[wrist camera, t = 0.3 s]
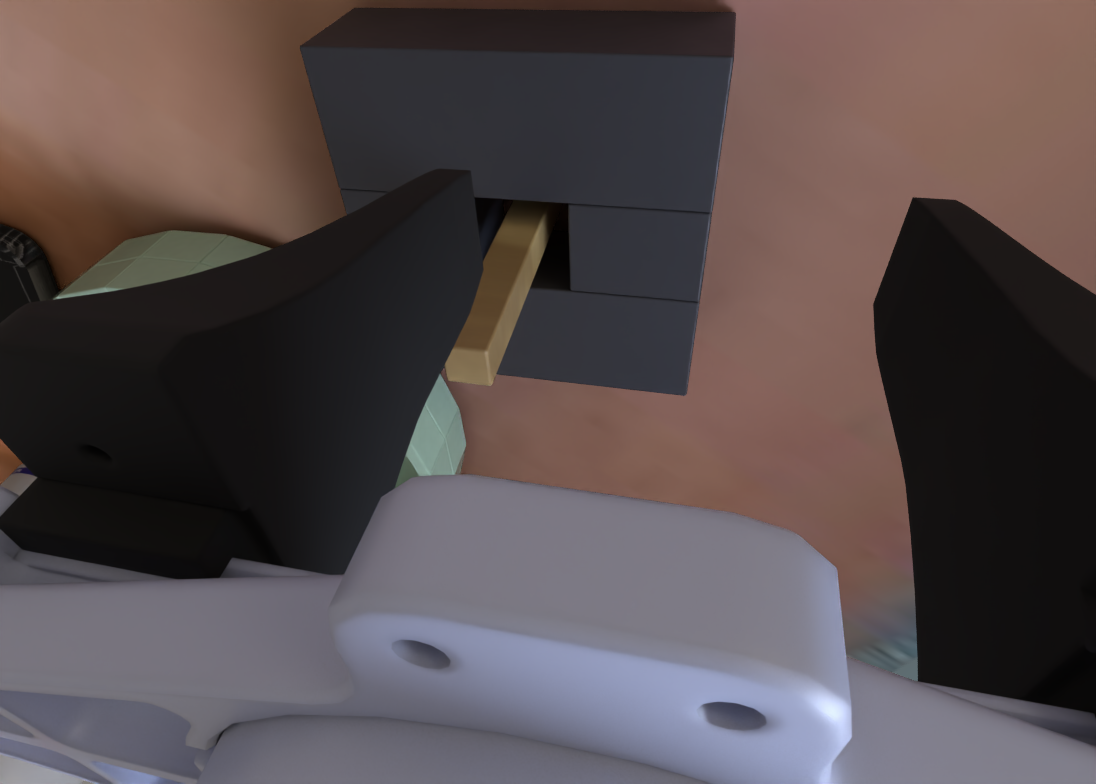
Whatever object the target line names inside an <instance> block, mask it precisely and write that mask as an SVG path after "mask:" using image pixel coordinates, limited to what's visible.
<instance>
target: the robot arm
mask: <svg viewBox="0 0 1096 784" xmlns="http://www.w3.org/2000/svg"><path fill="white" fill-rule="evenodd" d="M483 270H484V269H483V261H482V253H481V246H480V238H479V230H478V222H477V215H476V207H475V199H474V191H473V183H472V176H471V170H456V169H439V168H438V169H435V170H432V171H430V172H427V173H425V174H423V175H421V176H419V177H417V178H415V179H413V180H411V181H409V182H407V183H405V184H404V185H402V186H400V187H398V188H396V189H394V190H393V191H391V192H389V193H387V194H385V195H383V196H382V197H380V198H378V199H376V200H374V201H373V202H371V203H369V204H367V205H365V206H363V207H362V208H360V209H358V210H356V211H354V212H352V213H350V214H348V215H346V216H344V217H342V218H340V219H338V220H336V221H334V222H332V223H330V224H328V225H326V226H324V227H322V228H320V229H318V230H316V231H314V232H312V233H310V234H307V235H305V236H303V237H301V238H298V239H296V240H293V241H291V242H289V243H286V244H284V245H281V246H278V247H276V248H273V249H271V250H268V251H265V252H263V253H260V254H257V255H254V256H251V257H249V258H245V259H242V260H239V261H235V262H232V263H229V264H225V265H222V266H218V267H215V268H212V269H208V270H205V271H202V272H198V273H195V274H191V275H187V276H183V277H178V278H174V279H170V280H166V281H161V282H157V283H152V284H147V285H142V286H137V287H132V288H127V289H121V290H115V291H110V292H103V293H96V294H89V295H82V296H75V297H68V298H61V299H54V300H46V301H37V302H30V303H27V304H25V305H23V306H22V307H20V308H19V309H17V310H16V311H15V312H13V313H12V314H11V315H10V316H8V317H7V318H6V319H5V320H3V321H2V322H1V323H0V439H1V440H2V441H3V442H4V443H5V444H6V445H7V446H8V448H9V449H10V450H11V451H12V452H13V453H14V454H15V455H16V456H17V457H18V458H19V459H20V461H21V462H22V463H23V464H24V465H25V466H26V467H27V468H28V469H29V470H30V471H31V472H32V474H33V475H34V476H35V477H37V478H36V479H35V480H34V481H33V483H32V484H31V485H30V486H29V487H28V488H27V489H26V490H25V491H24V492H23V493H22V494H21V495H20V496H19V495H18V494H16V493H14V492H12V491H10V490H8V489H7V488H5V487H2V486H0V754H1V755H4V756H7V757H11V758H14V759H18V760H21V761H24V762H27V763H31V764H34V765H37V766H40V767H43V768H47V769H50V770H53V771H56V772H60V773H63V774H66V775H69V776H73V777H76V778H79V779H82V780H85V781H88V782H91V783H95V784H1096V295H1095V294H1094V293H1092V292H1090V291H1089V290H1087V289H1086V288H1084V287H1082V286H1081V285H1079V284H1078V283H1076V282H1074V281H1073V280H1071V279H1070V278H1068V277H1067V276H1065V275H1064V274H1062V273H1061V272H1059V271H1058V270H1056V269H1055V268H1054V267H1052V266H1051V265H1049V264H1048V263H1046V262H1045V261H1043V260H1042V259H1041V258H1039V257H1038V256H1036V255H1035V254H1034V253H1032V252H1031V251H1029V250H1028V249H1027V248H1025V247H1024V246H1023V245H1021V244H1020V243H1018V242H1017V241H1016V240H1014V239H1013V238H1012V237H1010V236H1009V235H1007V234H1006V233H1005V232H1003V231H1002V230H1001V229H999V228H998V227H997V226H995V225H994V224H992V223H991V222H990V221H988V220H987V219H985V218H984V217H983V216H981V215H980V214H978V213H977V212H975V211H974V210H972V209H971V208H969V207H968V206H966V205H964V204H962V203H960V202H958V201H957V200H946V199H930V198H914V197H913V199H912V201H911V204H910V207H909V209H908V212H907V215H906V218H905V220H904V223H903V226H902V228H901V231H900V234H899V236H898V239H897V242H896V244H895V247H894V250H893V253H892V255H891V258H890V261H889V263H888V266H887V269H886V271H885V274H884V277H883V279H882V282H881V285H880V288H879V290H878V293H877V296H876V298H875V301H874V304H873V307H874V330H875V343H876V355H877V359H878V364H879V369H880V373H881V377H882V382H883V386H884V391H885V395H886V399H887V403H888V407H889V411H890V416H891V420H892V424H893V428H894V432H895V437H896V441H897V445H898V449H899V453H900V458H901V462H902V467H903V473H904V479H905V484H906V493H907V503H908V513H909V523H910V532H911V545H912V558H913V572H914V586H915V605H916V628H917V652H918V681H914V680H911V679H908V678H905V677H903V676H900V675H897V674H894V673H892V672H889V671H886V670H883V669H881V668H878V667H875V666H872V665H870V664H867V663H864V662H861V661H859V660H856V659H853V658H850V657H848V656H846V651H845V642H844V632H843V623H842V613H841V604H840V594H839V584H838V575H837V568H836V567H835V566H834V565H833V564H831V563H830V562H829V561H828V560H827V559H826V558H825V557H823V556H822V555H821V554H820V553H819V552H818V551H817V550H815V549H814V548H813V547H812V546H811V545H810V544H809V543H807V542H806V541H805V540H804V539H803V538H802V537H801V536H799V535H798V534H796V533H794V532H792V531H791V530H788V529H785V528H782V527H779V526H775V525H772V524H769V523H766V522H762V521H759V520H756V519H753V518H750V517H746V516H743V515H740V514H737V513H733V512H727V511H720V510H713V509H706V508H699V507H692V506H685V505H679V504H672V503H665V502H658V501H651V500H644V499H637V498H630V497H624V496H617V495H610V494H603V493H596V492H589V491H582V490H576V489H569V488H562V487H555V486H548V485H541V484H534V483H528V482H521V481H514V480H507V479H500V478H493V477H486V476H480V475H473V474H460V475H428V476H418V477H412V478H410V479H409V480H407V481H406V482H404V483H402V484H401V485H399V486H398V487H396V488H395V486H396V482H397V479H398V476H399V473H400V470H401V467H402V464H403V461H404V458H405V455H406V453H407V450H408V447H409V444H410V441H411V439H412V436H413V433H414V430H415V427H416V424H417V422H418V419H419V417H420V415H421V412H422V410H423V408H424V405H425V403H426V401H427V399H428V397H429V395H430V393H431V391H432V389H433V387H434V385H435V383H436V381H437V379H438V377H439V375H440V373H441V371H442V369H443V367H444V365H445V363H446V361H447V359H448V357H449V355H450V353H451V351H452V349H453V347H454V345H455V343H456V341H457V339H458V337H459V335H460V333H461V331H462V329H463V327H464V325H465V323H466V320H467V318H468V316H469V314H470V312H471V309H472V306H473V303H474V299H475V296H476V293H477V290H478V287H479V283H480V280H481V277H482V273H483Z"/></svg>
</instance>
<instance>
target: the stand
mask: <svg viewBox="0 0 1096 784" xmlns="http://www.w3.org/2000/svg"><path fill="white" fill-rule="evenodd" d="M735 23H736V13H735V12H677V11H593V10H509V9H425V8H353V9H352V10H351V11H349V12H348V13H346V14H345V15H343V16H342V17H341V18H339V19H338V20H336V21H335V22H334V23H332V24H331V25H329V26H328V27H326V28H325V29H324V30H322V31H321V32H319V33H318V34H317V35H315V36H314V37H312V38H311V39H310V40H308V41H307V42H305V43H304V44H302V45H301V46H300V51H301V54H302V58H303V61H304V65H305V68H306V72H307V75H308V79H309V82H310V86H311V89H312V93H313V97H314V100H315V104H316V107H317V111H318V114H319V118H320V121H321V125H322V128H323V132H324V135H325V139H326V142H327V146H328V149H329V153H330V157H331V160H332V164H333V167H334V171H335V174H336V178H337V181H338V185H339V188H341V189H340V192H341V195H342V199H343V202H344V206H345V209H346V213H347V215H348V214H350V213H352V212H354V211H356V210H358V209H360V208H362V207H363V206H365V205H367V204H369V203H371V202H373V201H374V200H376V199H378V198H380V197H382V196H383V195H385V194H387V193H389V192H391V191H393V190H394V189H396V188H398V187H400V186H402V185H404V184H405V183H407V182H409V181H411V180H413V179H415V178H417V177H419V176H421V175H423V174H425V173H427V172H430V171H432V170H435V169H438V168H439V169H456V170H471V176H472V183H473V191H474V199H475V207H476V215H477V222H478V230H479V238H480V246H481V253H482V261H483V260H484V258H485V256H486V254H487V252H488V250H489V248H490V246H491V244H492V242H493V240H494V238H495V236H496V234H497V232H498V230H499V228H500V226H501V224H502V222H503V220H504V212H503V202H502V199H509V200H525V201H540V202H556V203H569V204H568V229H569V232H558V231H552V233H551V235H550V238H549V241H548V243H547V246H546V248H545V251H544V253H543V256H542V258H541V261H540V263H539V266H538V269H537V271H536V274H535V276H534V279H533V281H532V284H531V286H530V289H529V292H528V294H527V297H526V299H525V302H524V304H523V307H522V309H521V312H520V315H519V317H518V320H517V322H516V325H515V327H514V330H513V332H512V335H511V338H510V340H509V343H508V345H507V348H506V350H505V353H504V355H503V358H502V361H501V363H500V366H499V368H498V371H497V373H496V374H499V375H508V376H517V377H525V378H534V379H543V380H552V381H560V382H569V383H578V384H587V385H595V386H604V387H613V388H622V389H630V390H639V391H648V392H657V393H665V394H674V395H683V396H685V395H686V394H687V387H688V380H689V373H690V366H691V359H692V352H693V345H694V338H695V331H696V324H697V316H698V309H699V301H700V295H701V288H702V281H703V274H704V267H705V260H706V252H707V245H708V238H709V231H710V224H711V217H712V210H713V203H714V196H715V189H716V182H717V174H718V167H719V160H720V153H721V146H722V139H723V132H724V125H725V118H726V111H727V103H728V96H729V89H730V82H731V75H732V68H733V61H734V44H735ZM443 368H445V365H444V367H443Z"/></svg>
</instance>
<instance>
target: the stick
mask: <svg viewBox="0 0 1096 784" xmlns="http://www.w3.org/2000/svg"><path fill="white" fill-rule="evenodd" d="M561 207H562V203H556V202H540V201H525V200H513V202H512V204H511V206H510V208H509V210H508V212H507V214H506V216H505V218H504V220H503V222H502V224H501V226H500V228H499V230H498V232H497V234H496V236H495V238H494V240H493V242H492V244H491V246H490V248H489V250H488V252H487V254H486V256H485V258H484V260H483V269H484V270H483V273H482V277H481V280H480V283H479V287H478V290H477V293H476V296H475V299H474V303H473V306H472V309H471V312H470V314H469V316H468V318H467V320H466V323H465V325H464V327H463V329H462V331H461V333H460V335H459V337H458V339H457V341H456V343H455V345H454V347H453V349H452V351H451V353H450V355H449V357H448V359H447V361H446V363H445V370H446V375H447V379H448V380H449V381H453V382H461V383H470V384H478V385H487V386H490V385H492V383H493V381H494V378H495V376H496V373H497V371H498V368H499V366H500V363H501V361H502V358H503V355H504V353H505V350H506V348H507V345H508V343H509V340H510V338H511V335H512V332H513V330H514V327H515V325H516V322H517V320H518V317H519V315H520V312H521V309H522V307H523V304H524V302H525V299H526V297H527V294H528V292H529V289H530V286H531V284H532V281H533V279H534V276H535V274H536V271H537V269H538V266H539V263H540V261H541V258H542V256H543V253H544V251H545V248H546V246H547V243H548V241H549V238H550V235H551V233H552V230H553V228H554V225H555V223H556V220H557V218H558V215H559V212H560V210H561Z"/></svg>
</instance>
